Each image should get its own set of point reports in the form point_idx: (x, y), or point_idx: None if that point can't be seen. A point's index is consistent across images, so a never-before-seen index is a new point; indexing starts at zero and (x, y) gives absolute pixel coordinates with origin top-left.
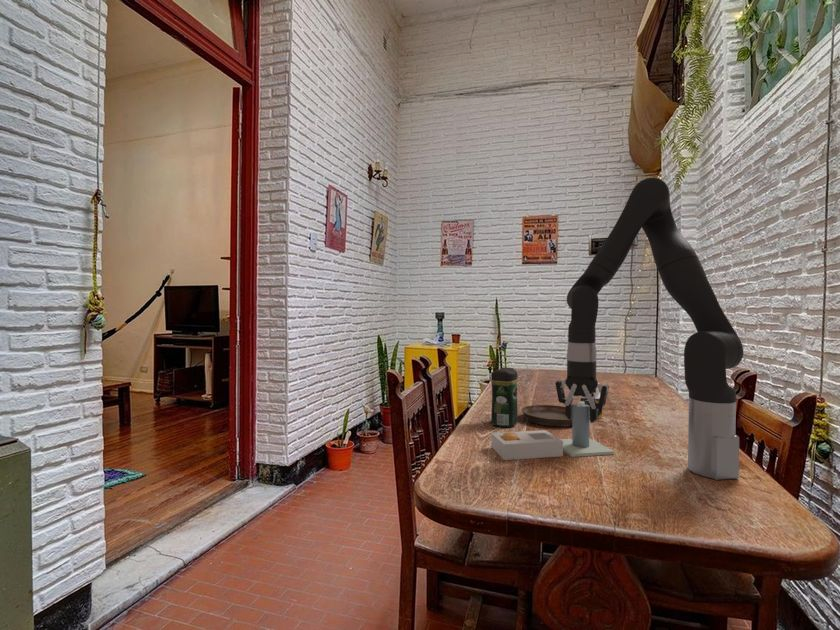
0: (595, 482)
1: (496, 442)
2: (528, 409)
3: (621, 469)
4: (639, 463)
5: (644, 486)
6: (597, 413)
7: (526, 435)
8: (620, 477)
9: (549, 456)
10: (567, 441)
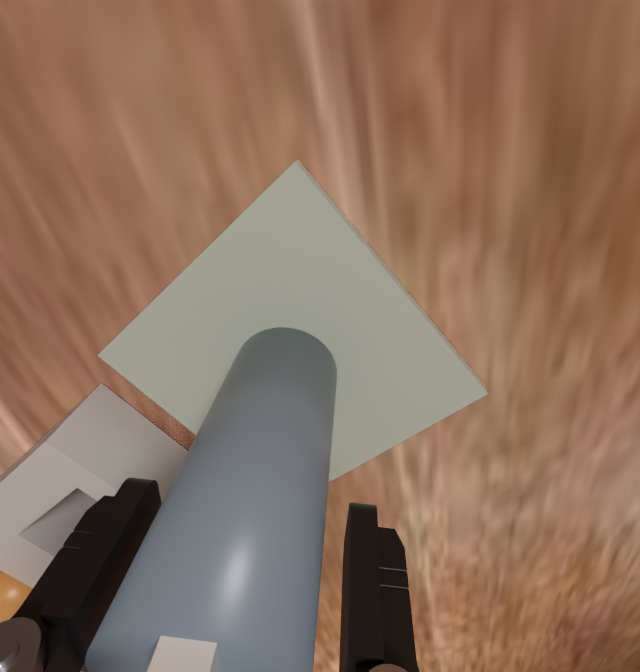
0: None
1: None
2: None
3: (503, 538)
4: (605, 453)
5: (566, 625)
6: (409, 600)
7: (38, 555)
8: (492, 595)
9: None
10: (193, 340)
